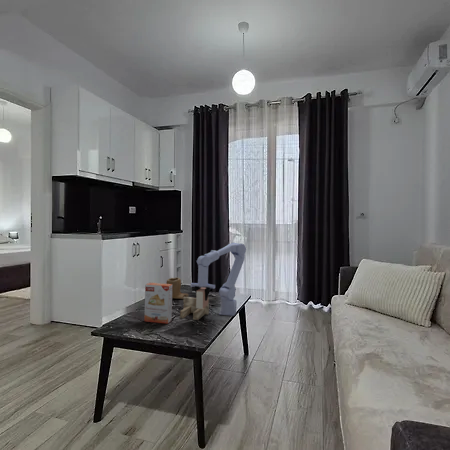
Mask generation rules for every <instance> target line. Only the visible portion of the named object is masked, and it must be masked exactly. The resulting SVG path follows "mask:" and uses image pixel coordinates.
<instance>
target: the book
mask: <svg viewBox="0 0 450 450" xmlns="http://www.w3.org/2000/svg"><path fill="white" fill-rule="evenodd" d="M205 289H206V288H203V287H201V288H200V289H199V290H197V292H195V295H196V297H195V298H196V308H197V309H203V308H205V307H206V306H207V305H208V299H209V297H208V298H207V301H205Z"/></svg>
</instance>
